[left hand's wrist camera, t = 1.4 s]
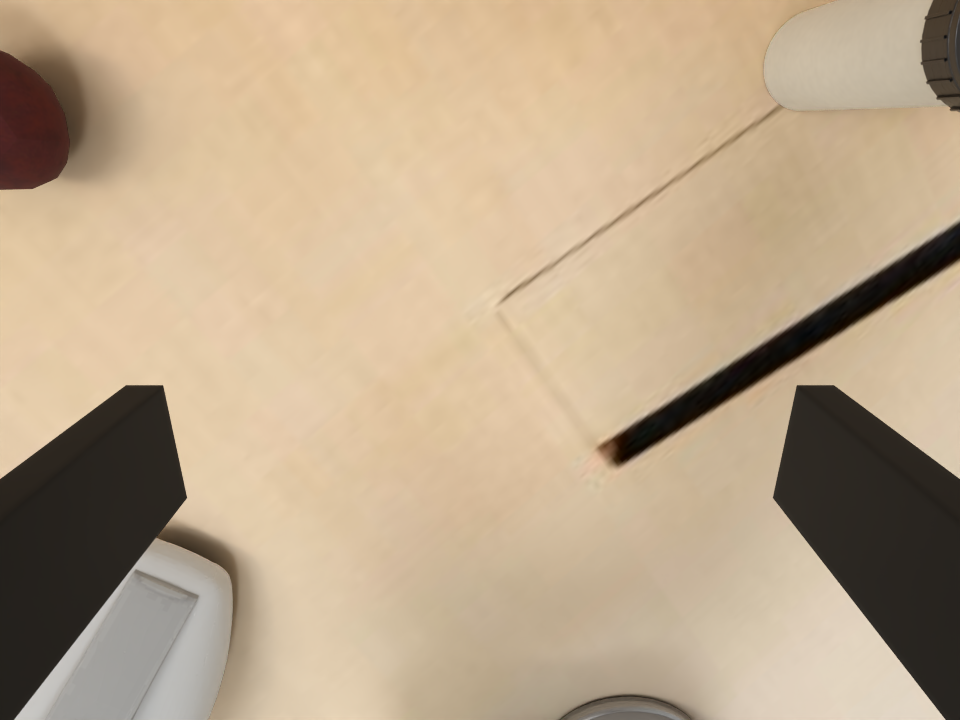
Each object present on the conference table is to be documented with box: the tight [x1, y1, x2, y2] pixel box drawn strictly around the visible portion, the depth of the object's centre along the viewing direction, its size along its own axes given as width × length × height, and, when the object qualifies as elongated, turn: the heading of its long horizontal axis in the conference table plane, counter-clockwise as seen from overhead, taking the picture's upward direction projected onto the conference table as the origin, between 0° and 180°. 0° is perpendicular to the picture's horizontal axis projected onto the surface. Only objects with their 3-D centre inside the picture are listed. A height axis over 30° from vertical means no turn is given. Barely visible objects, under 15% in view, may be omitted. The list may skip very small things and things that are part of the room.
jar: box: [764, 0, 947, 111], centre depth 28 cm, size 5×5×16 cm
